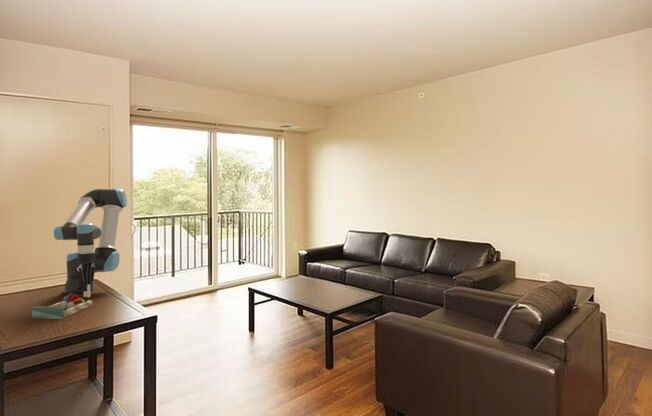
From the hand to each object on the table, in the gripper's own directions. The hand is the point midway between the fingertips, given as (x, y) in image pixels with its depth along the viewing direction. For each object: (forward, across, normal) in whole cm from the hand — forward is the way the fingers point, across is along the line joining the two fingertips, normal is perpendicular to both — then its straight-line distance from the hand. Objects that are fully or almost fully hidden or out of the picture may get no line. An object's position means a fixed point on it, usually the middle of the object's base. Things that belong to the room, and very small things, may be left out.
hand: (87, 296), depth 205 cm
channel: (+3, +16, 0) cm, 16 cm away
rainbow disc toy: (+3, +10, 0) cm, 11 cm away
